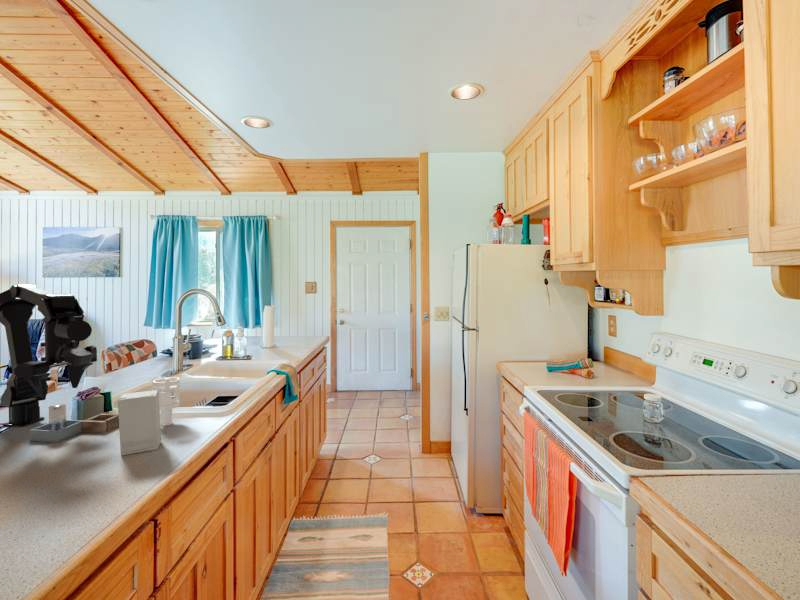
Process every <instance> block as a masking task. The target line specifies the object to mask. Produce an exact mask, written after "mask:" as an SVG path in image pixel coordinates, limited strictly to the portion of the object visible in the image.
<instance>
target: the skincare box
mask: <svg viewBox="0 0 800 600" xmlns="http://www.w3.org/2000/svg"><path fill="white" fill-rule="evenodd" d="M117 410H118V411H117V412H118V413H117V414H118V415H119V425H118V429H119V446H120V456H127V455H133V454H134V455H135V454H138V453H144V452H151V451H156V450H158V449H159V446H160V445H161V442H162V428H161V426H162V425H161V410H160V407H159V391H158V390H156V389H155V390H153V389H151V390H145V391H138V392H137V391H135V392H128V393H122V395H121V396H120V397H119V398H118V400H117Z"/></svg>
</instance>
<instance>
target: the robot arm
mask: <svg viewBox="0 0 800 600" xmlns="http://www.w3.org/2000/svg"><path fill="white" fill-rule="evenodd" d="M36 306H37V311H38V312H40V313H41V314H42V316H43V318H42V320H41V322H43V323H44V341H43V342H40V347H44V356H41V357H40V361H36V360H35V361H34V356H33V350H32V345H31V340H30V339H31V338H30V333H29V332H30V331H29V326H28V322H29V320H30V319H31V318H32V316H33V312H34V311H33V310H34V309H35V307H36ZM84 313H85V312H84V310H83V308H82V307H81V305H80V303H79V301H78V299H77V298H76V297H75V295H74V294H69V293H54V292H51V291H48V290H45V289H43V288H41V287H38V286H37V285H34V284H17V283H16V284H12V285H11V286H10V288H9V289H7V290H5V291H3V292H0V323H1V325H3V327H4V328H5V335H6V340H7V347H8V351H9V358H10V365H11V370H12V373H11V374H10V376H9V378H8V379H7V381H6V383H5V384H6V388H5V389H4V392H2V393H3V394H2V395H1V397H0V405H1V406H2V407H5V408H8V421H7V422H5V423H6V424H12V426H11V427H25V426H28V425H31V424H33V423H36V422H39V421H42V420H44V419H45V417H44V416H41V408H40V401H41V402H42V401H46V398H47V394H48V390H49V385H48V383H47V379H48V377H50V375H51V372H50V369H51V368H56V367H60V366H64V365H66V366H67V370H68V371H67V372H68V376H69V380H70V385H71V387H72V389H77V388H78V386H79V384H80V381H81V379H82V377H83V374H85V373H84V372H85V371H86V369H88V368H89V367H90V366H92V365H94V362H98V355H97V354H98V349H97V346H95V345H87V346H86V347H84V346H83V347H79V346H78V342H82V341H85V340H87V339H88V338H89V337H90V336H91V334H92V329H93V328H92V327H91V324H90V323H89V322H87V321H85V320H84V318H85V315H84Z"/></svg>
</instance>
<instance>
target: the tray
mask: <svg viewBox="0 0 800 600" xmlns="http://www.w3.org/2000/svg"><path fill="white" fill-rule="evenodd" d="M82 421H84V420H80V419H79V420H78V419H77V420H75V419H66V427H65V428H62V429H60V430H49V422H48V423H45V424H43V425H40V426H37V427H34V428H32V429H29V441H30V442H45V441H48V442H49V443H50V442H51V443H58V442H60V441H63V440H65V439H68V438H70V437H72V436H75V435H77V434H79V433H81V432H82ZM67 437H68V438H67Z"/></svg>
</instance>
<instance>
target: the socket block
mask: <svg viewBox="0 0 800 600" xmlns="http://www.w3.org/2000/svg"><path fill="white" fill-rule="evenodd" d="M116 427H119V415H118V413H99V414H98V415H97V414H96V415H94V416H91V417H89V418H86V419H84V420H83V421H82V431H81V432H86V433H105V432H107V431H109V430H112V429H113V428H116Z"/></svg>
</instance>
